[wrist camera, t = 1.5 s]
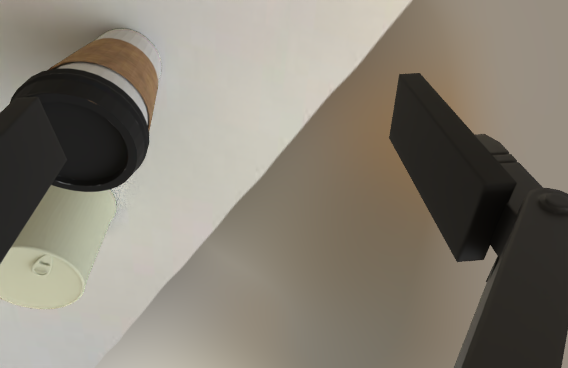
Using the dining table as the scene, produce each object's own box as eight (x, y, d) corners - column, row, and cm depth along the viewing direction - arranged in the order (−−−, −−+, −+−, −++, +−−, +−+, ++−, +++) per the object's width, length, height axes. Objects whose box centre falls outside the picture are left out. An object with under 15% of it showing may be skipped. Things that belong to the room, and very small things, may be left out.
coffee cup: (90, -7, 32) (-1, 59, 20) (188, 41, 35) (158, 123, 23) (70, 80, 36) (-14, 176, 25) (159, 116, 39) (122, 217, 28)
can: (130, 193, 45) (99, 276, 36) (97, 239, 49) (61, 324, 40) (48, 154, 41) (-12, 235, 32) (19, 207, 45) (-41, 293, 36)
